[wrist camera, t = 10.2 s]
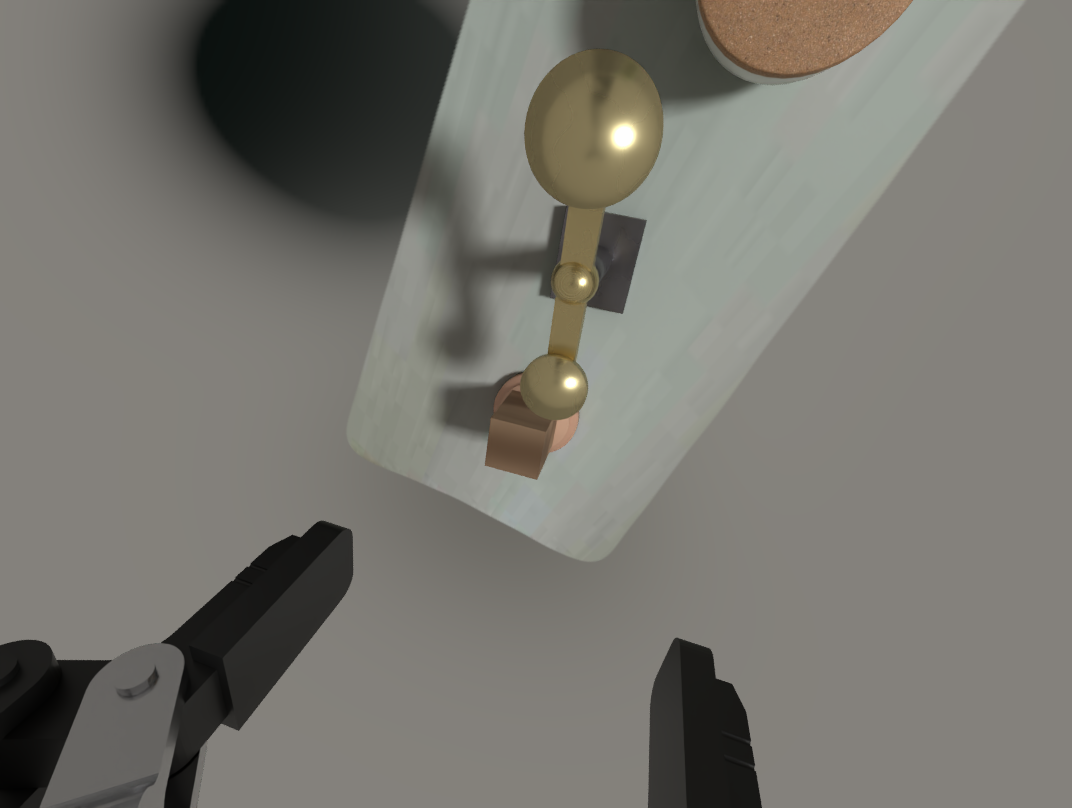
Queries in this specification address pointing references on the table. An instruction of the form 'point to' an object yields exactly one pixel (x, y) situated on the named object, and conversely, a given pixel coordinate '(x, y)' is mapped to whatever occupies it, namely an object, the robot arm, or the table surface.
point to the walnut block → (519, 438)
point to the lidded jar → (791, 34)
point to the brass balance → (588, 202)
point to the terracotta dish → (563, 427)
